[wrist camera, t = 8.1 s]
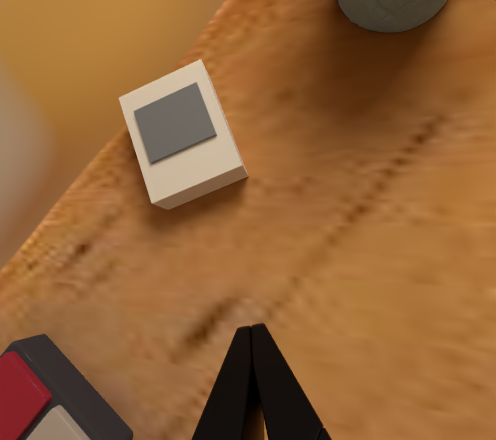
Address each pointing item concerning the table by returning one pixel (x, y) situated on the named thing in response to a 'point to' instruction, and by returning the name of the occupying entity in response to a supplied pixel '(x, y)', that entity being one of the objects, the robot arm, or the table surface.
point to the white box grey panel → (181, 137)
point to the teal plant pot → (390, 13)
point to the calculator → (51, 397)
